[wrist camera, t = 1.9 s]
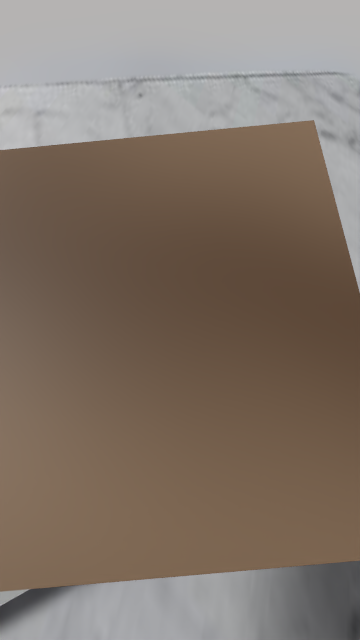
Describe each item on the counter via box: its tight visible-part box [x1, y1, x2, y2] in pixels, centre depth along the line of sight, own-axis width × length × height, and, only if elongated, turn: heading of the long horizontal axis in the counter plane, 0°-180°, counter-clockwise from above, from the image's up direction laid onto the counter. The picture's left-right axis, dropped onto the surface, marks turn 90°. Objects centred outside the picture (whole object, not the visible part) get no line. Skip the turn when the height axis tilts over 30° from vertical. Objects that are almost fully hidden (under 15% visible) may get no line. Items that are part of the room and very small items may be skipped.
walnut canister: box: [0, 120, 360, 592], centre depth 10 cm, size 5×5×14 cm
